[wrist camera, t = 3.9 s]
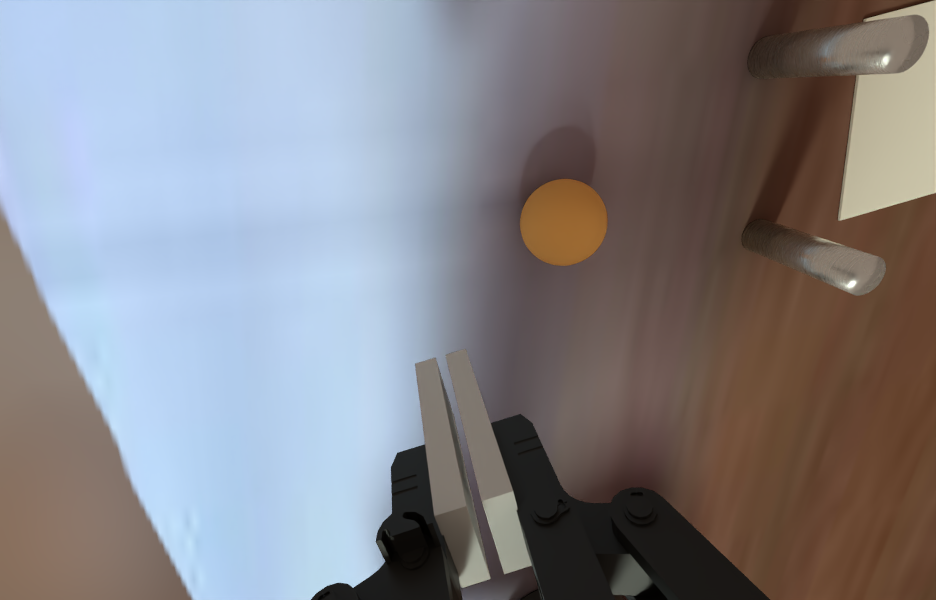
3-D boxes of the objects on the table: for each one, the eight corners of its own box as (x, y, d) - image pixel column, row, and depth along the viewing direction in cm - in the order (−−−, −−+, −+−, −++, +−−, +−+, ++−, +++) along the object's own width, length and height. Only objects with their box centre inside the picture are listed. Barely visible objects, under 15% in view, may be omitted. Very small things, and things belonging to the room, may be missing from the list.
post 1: (746, 83, 31) (877, 79, 23) (748, 41, 30) (886, 21, 22) (781, 73, 31) (923, 66, 23) (784, 31, 30) (934, 8, 22)
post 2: (741, 254, 36) (845, 300, 28) (742, 224, 35) (850, 263, 27) (770, 245, 36) (882, 288, 28) (772, 215, 35) (889, 251, 27)
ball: (518, 259, 33) (542, 288, 28) (503, 184, 31) (527, 202, 26) (590, 239, 33) (626, 264, 29) (581, 163, 31) (619, 176, 26)
